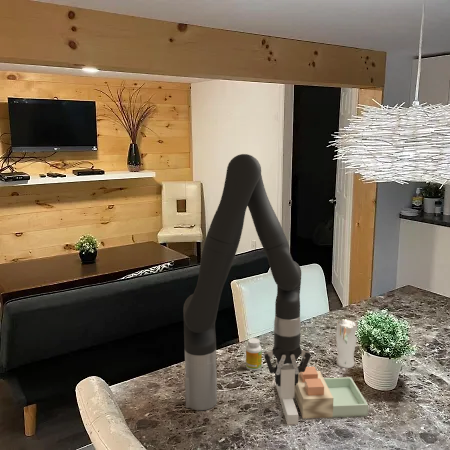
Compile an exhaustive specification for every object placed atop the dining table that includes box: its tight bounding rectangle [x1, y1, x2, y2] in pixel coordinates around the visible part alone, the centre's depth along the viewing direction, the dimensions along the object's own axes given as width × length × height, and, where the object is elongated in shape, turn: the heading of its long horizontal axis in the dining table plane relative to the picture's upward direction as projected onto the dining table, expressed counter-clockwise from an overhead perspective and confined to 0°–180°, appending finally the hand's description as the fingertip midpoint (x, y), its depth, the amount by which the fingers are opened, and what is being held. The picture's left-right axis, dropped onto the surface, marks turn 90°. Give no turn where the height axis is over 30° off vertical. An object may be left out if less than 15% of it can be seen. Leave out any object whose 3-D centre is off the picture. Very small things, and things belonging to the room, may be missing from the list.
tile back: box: [300, 366, 318, 382], centre depth 137 cm, size 4×4×2 cm
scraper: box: [275, 363, 299, 426], centre depth 134 cm, size 4×20×12 cm, turn 3°
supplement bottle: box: [245, 337, 263, 371], centre depth 156 cm, size 5×5×10 cm
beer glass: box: [335, 319, 358, 369], centre depth 157 cm, size 7×7×15 cm
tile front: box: [305, 379, 324, 395], centre depth 131 cm, size 4×4×2 cm
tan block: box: [294, 370, 334, 420], centre depth 135 cm, size 8×15×6 cm, turn 3°
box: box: [323, 376, 369, 418], centre depth 136 cm, size 10×15×4 cm, turn 3°
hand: (286, 384), depth 134 cm, fingers closed on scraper, 4 cm apart
